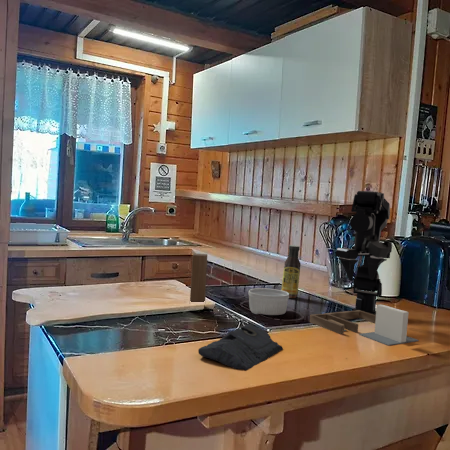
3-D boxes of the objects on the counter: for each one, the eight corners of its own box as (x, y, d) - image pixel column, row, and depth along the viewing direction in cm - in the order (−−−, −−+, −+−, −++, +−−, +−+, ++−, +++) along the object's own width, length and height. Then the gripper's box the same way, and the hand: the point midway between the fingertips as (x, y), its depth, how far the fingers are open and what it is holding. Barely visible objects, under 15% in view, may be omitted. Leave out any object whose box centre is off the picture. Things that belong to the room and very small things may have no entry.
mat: (388, 333, 134) (389, 329, 134) (418, 343, 126) (418, 340, 126) (358, 337, 128) (359, 333, 128) (387, 348, 120) (388, 344, 120)
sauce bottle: (280, 297, 175) (283, 245, 174) (281, 294, 181) (285, 244, 180) (297, 299, 174) (301, 247, 173) (298, 296, 180) (302, 245, 179)
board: (379, 332, 131) (381, 304, 131) (405, 341, 123) (408, 312, 123) (374, 333, 130) (376, 304, 130) (400, 342, 122) (403, 312, 122)
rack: (358, 319, 149) (359, 310, 149) (391, 330, 138) (392, 320, 138) (309, 324, 139) (310, 314, 139) (340, 337, 128) (341, 326, 127)
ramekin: (258, 306, 160) (259, 286, 159) (294, 312, 153) (295, 292, 153) (239, 313, 148) (241, 291, 148) (277, 320, 142) (279, 298, 141)
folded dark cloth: (186, 358, 105) (187, 337, 104) (233, 336, 124) (234, 319, 123) (246, 375, 97) (247, 352, 97) (287, 349, 116) (288, 330, 116)
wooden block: (191, 305, 155) (194, 251, 154) (204, 306, 154) (208, 252, 154) (189, 311, 146) (192, 254, 145) (203, 312, 146) (206, 255, 145)
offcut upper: (330, 324, 137) (331, 319, 137) (344, 330, 132) (344, 324, 132) (322, 325, 136) (322, 320, 136) (335, 330, 131) (336, 325, 131)
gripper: (363, 233, 134) (359, 286, 135) (406, 233, 143) (402, 283, 144) (335, 229, 144) (332, 279, 145) (377, 230, 153) (374, 277, 154)
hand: (361, 280), depth 147 cm, fingers open, 9 cm apart
